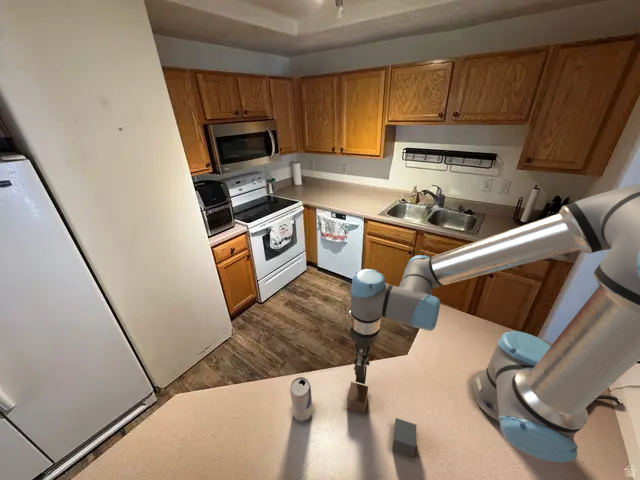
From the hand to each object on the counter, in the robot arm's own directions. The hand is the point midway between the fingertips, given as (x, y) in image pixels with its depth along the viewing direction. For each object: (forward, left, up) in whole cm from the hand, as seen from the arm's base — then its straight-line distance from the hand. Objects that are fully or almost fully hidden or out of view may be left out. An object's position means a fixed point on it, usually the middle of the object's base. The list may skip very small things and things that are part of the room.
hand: (360, 380), depth 77 cm
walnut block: (0, +5, -2) cm, 6 cm away
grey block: (-13, +11, -2) cm, 17 cm away
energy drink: (+14, +12, -2) cm, 19 cm away
